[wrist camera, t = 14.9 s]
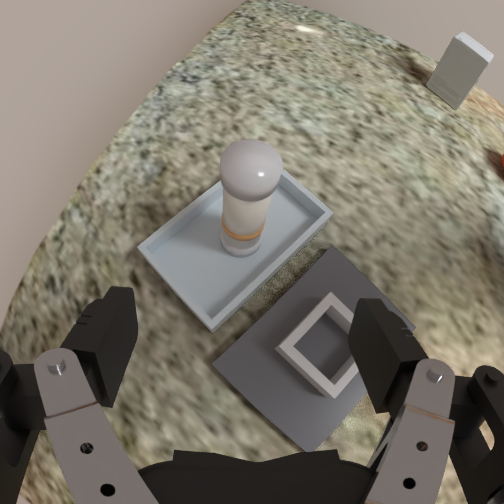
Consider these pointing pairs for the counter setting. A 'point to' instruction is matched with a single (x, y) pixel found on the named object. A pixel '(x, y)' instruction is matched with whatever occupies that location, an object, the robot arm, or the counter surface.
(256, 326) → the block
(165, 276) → the tray
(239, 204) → the white bottle
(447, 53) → the supplement box
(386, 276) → the counter surface
